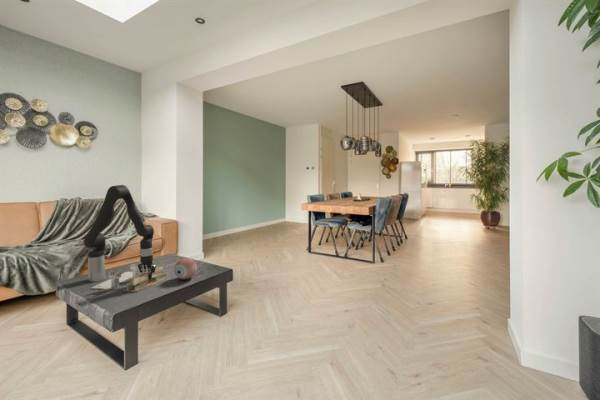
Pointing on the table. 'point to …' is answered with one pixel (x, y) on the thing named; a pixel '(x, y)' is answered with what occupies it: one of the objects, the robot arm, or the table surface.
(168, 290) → the table surface
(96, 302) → the table surface
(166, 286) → the table surface
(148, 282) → the rack
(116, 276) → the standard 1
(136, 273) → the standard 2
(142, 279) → the rail
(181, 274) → the eyeball
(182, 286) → the table surface
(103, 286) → the baseboard
